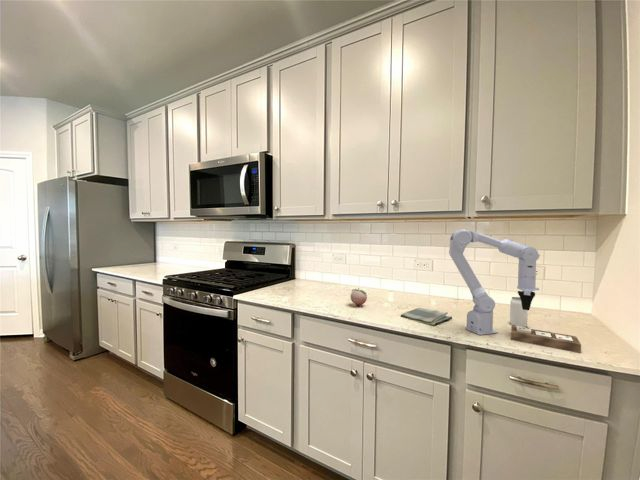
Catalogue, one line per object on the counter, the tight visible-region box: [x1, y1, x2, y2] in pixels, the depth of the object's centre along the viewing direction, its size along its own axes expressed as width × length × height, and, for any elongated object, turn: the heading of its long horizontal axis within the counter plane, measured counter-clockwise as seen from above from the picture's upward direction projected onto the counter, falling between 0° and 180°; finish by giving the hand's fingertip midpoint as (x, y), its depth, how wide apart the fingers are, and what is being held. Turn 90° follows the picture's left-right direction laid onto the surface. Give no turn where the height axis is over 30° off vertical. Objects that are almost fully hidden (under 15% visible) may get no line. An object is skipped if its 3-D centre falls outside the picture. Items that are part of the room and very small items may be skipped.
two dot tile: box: [555, 334, 573, 341], centre depth 103 cm, size 5×5×3 cm
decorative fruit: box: [350, 287, 368, 307], centre depth 154 cm, size 9×8×10 cm
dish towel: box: [400, 307, 453, 327], centre depth 135 cm, size 19×18×3 cm
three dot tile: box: [516, 326, 532, 334], centre depth 110 cm, size 5×5×3 cm
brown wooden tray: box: [510, 325, 582, 353], centre depth 106 cm, size 20×9×3 cm, turn 55°
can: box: [509, 296, 529, 327], centre depth 125 cm, size 6×6×12 cm
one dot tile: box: [535, 331, 552, 338], centre depth 106 cm, size 5×5×3 cm
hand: (525, 309), depth 113 cm, fingers closed
